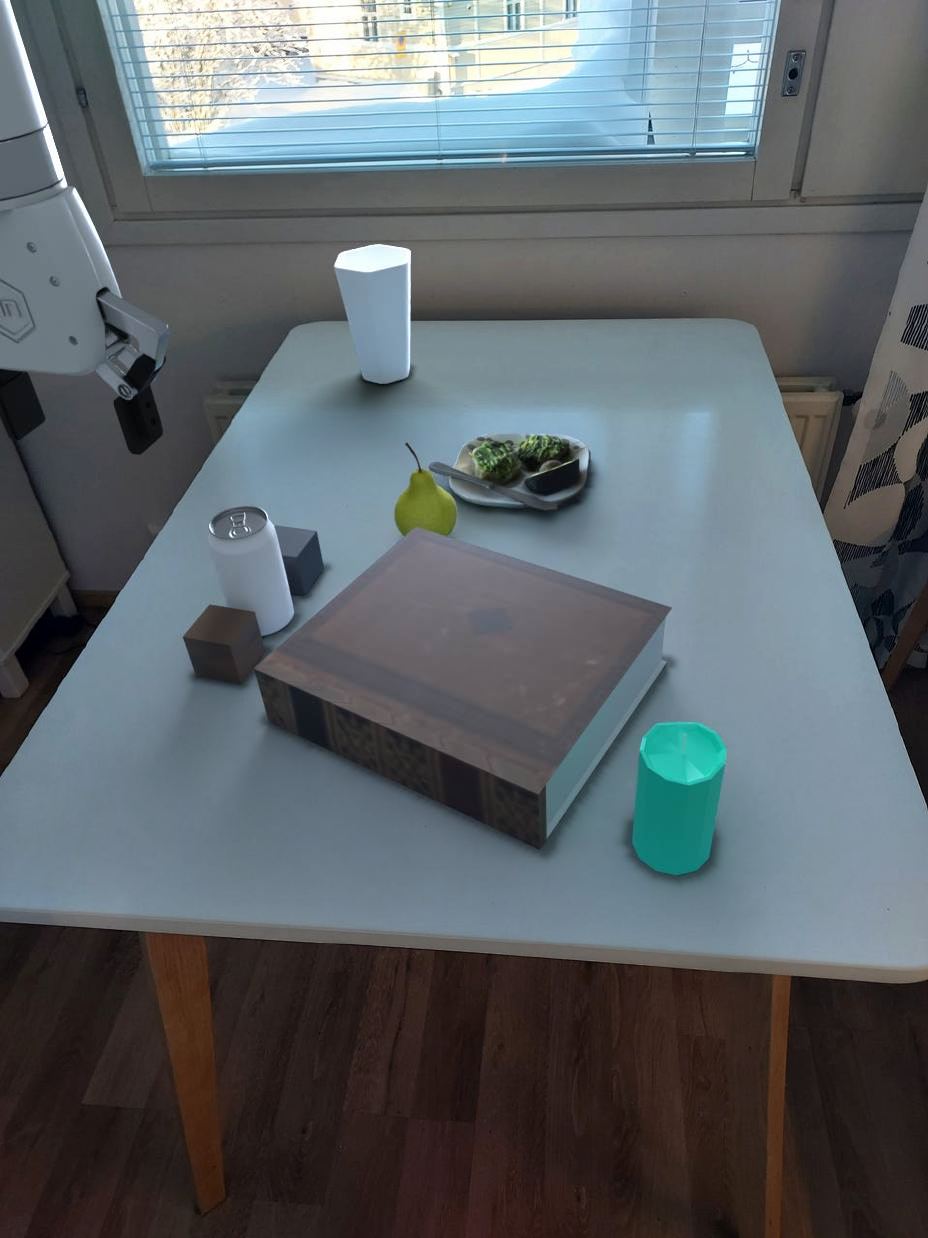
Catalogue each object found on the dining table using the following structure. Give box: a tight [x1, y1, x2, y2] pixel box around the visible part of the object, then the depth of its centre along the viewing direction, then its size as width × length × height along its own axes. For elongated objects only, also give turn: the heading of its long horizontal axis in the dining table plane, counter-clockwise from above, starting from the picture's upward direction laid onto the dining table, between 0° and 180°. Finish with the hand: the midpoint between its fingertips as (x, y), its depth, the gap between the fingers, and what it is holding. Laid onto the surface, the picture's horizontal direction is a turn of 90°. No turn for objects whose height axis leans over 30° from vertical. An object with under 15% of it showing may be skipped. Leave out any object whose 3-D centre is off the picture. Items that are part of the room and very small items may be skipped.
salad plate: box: [427, 432, 592, 512], centre depth 112 cm, size 19×18×5 cm
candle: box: [631, 721, 728, 876], centre depth 67 cm, size 6×6×12 cm
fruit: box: [393, 441, 458, 537], centre depth 101 cm, size 7×7×12 cm
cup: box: [333, 244, 412, 385], centre depth 134 cm, size 11×10×17 cm
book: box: [253, 527, 673, 850], centre depth 83 cm, size 24×28×6 cm
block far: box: [274, 524, 325, 596], centre depth 99 cm, size 5×5×5 cm
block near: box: [182, 603, 266, 685], centre depth 89 cm, size 5×5×5 cm
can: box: [207, 505, 295, 638], centre depth 92 cm, size 6×6×12 cm
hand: (87, 437), depth 64 cm, fingers open, 9 cm apart
